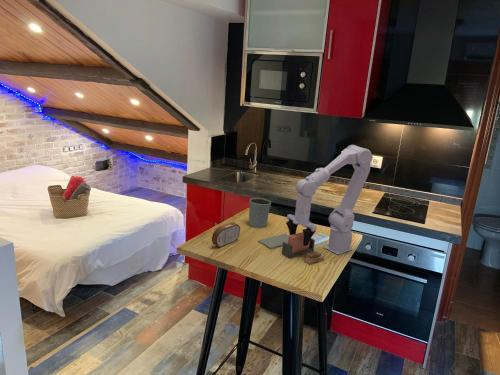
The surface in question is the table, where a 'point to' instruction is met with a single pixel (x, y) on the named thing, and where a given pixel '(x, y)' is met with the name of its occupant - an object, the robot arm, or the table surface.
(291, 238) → the salmon pink rectangular block
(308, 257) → the offcut stack
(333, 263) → the table surface
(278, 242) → the mat
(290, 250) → the rack
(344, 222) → the robot arm
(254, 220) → the grey cylindrical pot
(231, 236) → the tin
